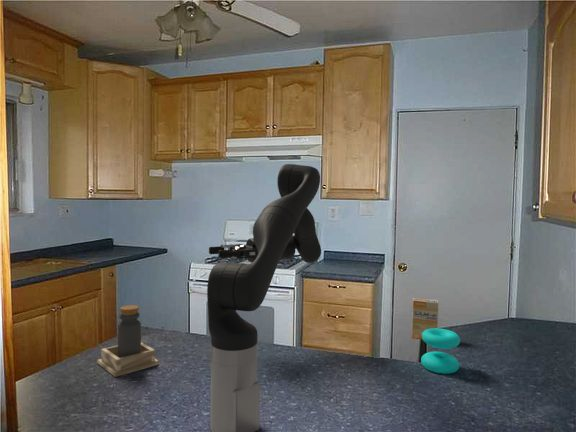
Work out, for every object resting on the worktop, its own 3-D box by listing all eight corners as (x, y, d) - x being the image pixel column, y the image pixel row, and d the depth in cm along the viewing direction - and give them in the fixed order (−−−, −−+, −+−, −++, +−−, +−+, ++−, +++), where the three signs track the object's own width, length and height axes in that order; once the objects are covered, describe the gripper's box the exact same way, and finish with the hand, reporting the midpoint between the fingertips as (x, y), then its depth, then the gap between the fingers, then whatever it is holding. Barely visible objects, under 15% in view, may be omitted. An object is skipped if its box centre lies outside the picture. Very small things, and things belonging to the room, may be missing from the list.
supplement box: (411, 339, 140) (412, 300, 139) (411, 334, 144) (412, 297, 144) (437, 341, 137) (438, 302, 137) (436, 337, 142) (437, 299, 141)
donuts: (414, 329, 118) (439, 325, 123) (413, 364, 118) (438, 358, 123) (442, 340, 109) (468, 335, 114) (440, 378, 110) (467, 371, 114)
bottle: (117, 359, 116) (117, 305, 115) (139, 356, 118) (139, 303, 118) (118, 367, 111) (118, 311, 110) (141, 363, 113) (141, 308, 112)
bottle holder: (158, 364, 115) (158, 350, 115) (115, 377, 107) (115, 361, 107) (139, 352, 124) (139, 339, 124) (97, 363, 115) (97, 348, 115)
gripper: (253, 235, 138) (206, 237, 130) (274, 240, 125) (222, 242, 117) (253, 258, 138) (206, 261, 130) (273, 265, 125) (222, 268, 117)
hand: (214, 252), depth 123 cm, fingers open, 8 cm apart
